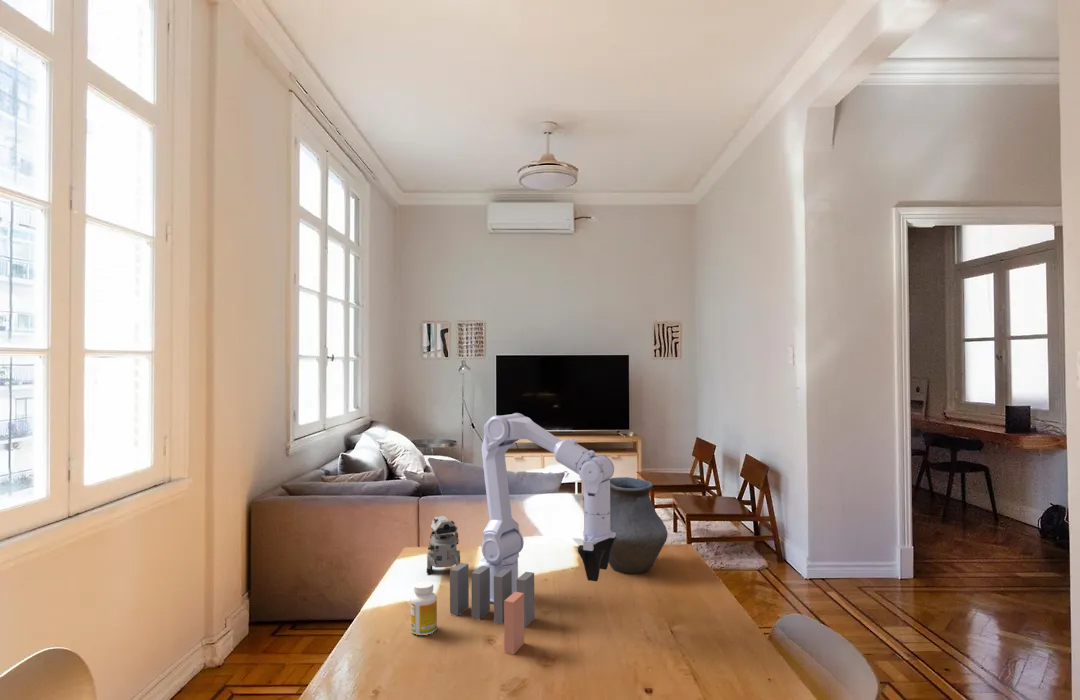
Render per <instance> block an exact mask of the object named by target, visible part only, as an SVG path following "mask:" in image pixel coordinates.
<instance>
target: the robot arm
mask: <svg viewBox="0 0 1080 700" xmlns="http://www.w3.org/2000/svg"><path fill="white" fill-rule="evenodd" d="M483 431H484V432H483V434H484V436H483V440H482V444H481V457H482V466H483V473H484V474H483V476H484V484H485V491H486V492H485V493H486V503H487V511H488V520H489V521H488V523H487V525H486V526H485V528H484V530H483V532H482V535H483V538H482V539H483V540H482V544H481V553H482V556H483V558H482V559H480V561H479V563H478V566H477V569H478V568H479V567H481V566H487V567H490V603H493V604H494V575H496V574H497V573H498V572H500V571H501V570H502V569H510V570H512V594H513V593H514V592H517V579H518V578H519V558H520V552H522V550H523V548H524V544H525V543H524V538H523V535H522V533H521V531H520V527H519V523H518V522H517V521H516V520H515V519H514V518H513V515H512V507H511V506H512V505H511V497H510V490H509V489H510V488H509V480H508V473H507V471H508V470H507V464H506V452H507V451H508V450H509V449H510V448H511V446H512V445H513V444H514V443H516V442H518V441H520V440H527V441H529V442H531V443H534V444H536V445H537V446H539V447H541V448H543V449H545V450H546V451H549V452H550V453H552V454H553V455H554V459H555V461H556V462H557V463H559V464H561V465H563V466H564V467H566V468H568V469H569V470H570V471H572V472H574V473H576V474H577V475H578V476H579V478H580V480H581V481H582V483H583V504H584V505H583V508H584V509H583V525H584V526H583V534H582V535H583V540H582V544H580V545H579V546H578V547H577V552H578V554H579V556H580V558H581V560H582V563H583V566H584V571H585V575H586V579H587V581H590V582H591V581H592V582H598V580H599V576H600V570H607V569H608V566H609V557H610V552H611V549H612V546H613V543H614V541H615V539H616V533H614V532H611V530H610V480H609V479H610V478H613V476H614V473H615V465H614V463H613V461H612V460H611V459H610V458H609V457H608V456H607V455H606V454H602V453H601V454H596V452H595V450H592V449H590V450H589V449H587V448H585V447H584V446H582V445H580V444H578V443H579V441H578V440H577V439H575V438H573V439H569V438H567V439H564V440H561V439H560V438H559V437H557V436H555V435H554V434H552V433H550V432H549V431H548V430H547V429H545V428H543V427H542V426H540V425H539V424H537V423H536V422H534V421H533V420H532V419H531V418H530V417H528V416H525V415H524V414H522V413H519V412H514V413H512V414H504V415H493V416H491V417H490V418H489V419H488V420H487V421H486V423H485V424H484V425H483ZM604 481H605V482H604Z"/></svg>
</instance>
